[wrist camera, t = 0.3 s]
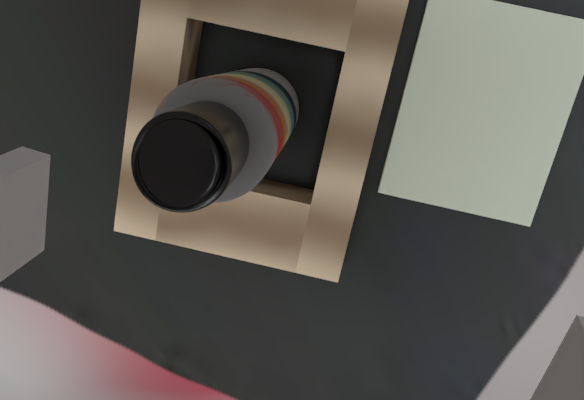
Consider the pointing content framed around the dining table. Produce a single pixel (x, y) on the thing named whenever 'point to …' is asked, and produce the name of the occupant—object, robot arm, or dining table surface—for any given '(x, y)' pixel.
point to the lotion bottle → (213, 138)
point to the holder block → (266, 194)
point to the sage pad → (484, 107)
